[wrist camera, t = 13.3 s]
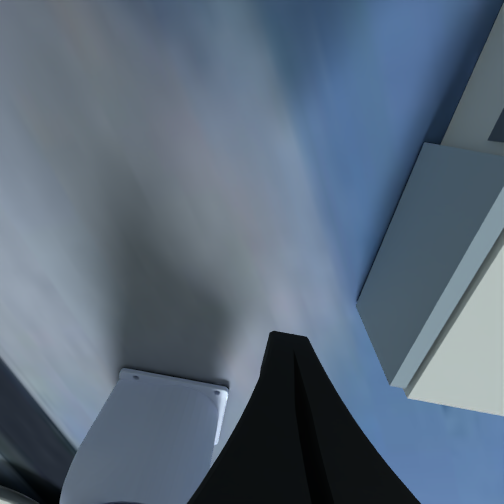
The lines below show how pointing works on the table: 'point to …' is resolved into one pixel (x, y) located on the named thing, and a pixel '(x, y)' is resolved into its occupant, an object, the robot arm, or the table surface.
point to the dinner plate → (14, 497)
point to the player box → (489, 273)
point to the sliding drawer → (431, 253)
